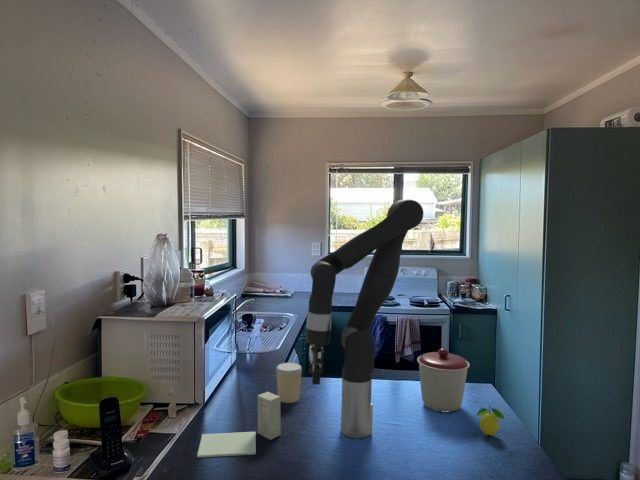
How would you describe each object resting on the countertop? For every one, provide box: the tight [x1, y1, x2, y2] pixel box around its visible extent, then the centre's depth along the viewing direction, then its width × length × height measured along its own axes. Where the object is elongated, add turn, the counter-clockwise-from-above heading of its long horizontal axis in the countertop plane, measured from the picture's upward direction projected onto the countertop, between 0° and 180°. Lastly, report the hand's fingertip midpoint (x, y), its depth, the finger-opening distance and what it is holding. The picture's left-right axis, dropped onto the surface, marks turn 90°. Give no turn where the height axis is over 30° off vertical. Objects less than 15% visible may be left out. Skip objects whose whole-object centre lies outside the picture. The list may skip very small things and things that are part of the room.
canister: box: [416, 347, 471, 413], centre depth 158 cm, size 18×18×21 cm
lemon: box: [476, 404, 505, 436], centre depth 137 cm, size 7×6×10 cm
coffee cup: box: [275, 362, 303, 404], centre depth 162 cm, size 9×9×12 cm
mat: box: [196, 431, 257, 459], centre depth 129 cm, size 16×12×1 cm
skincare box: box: [257, 391, 282, 440], centre depth 135 cm, size 6×4×12 cm
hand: (314, 378), depth 136 cm, fingers open, 8 cm apart
